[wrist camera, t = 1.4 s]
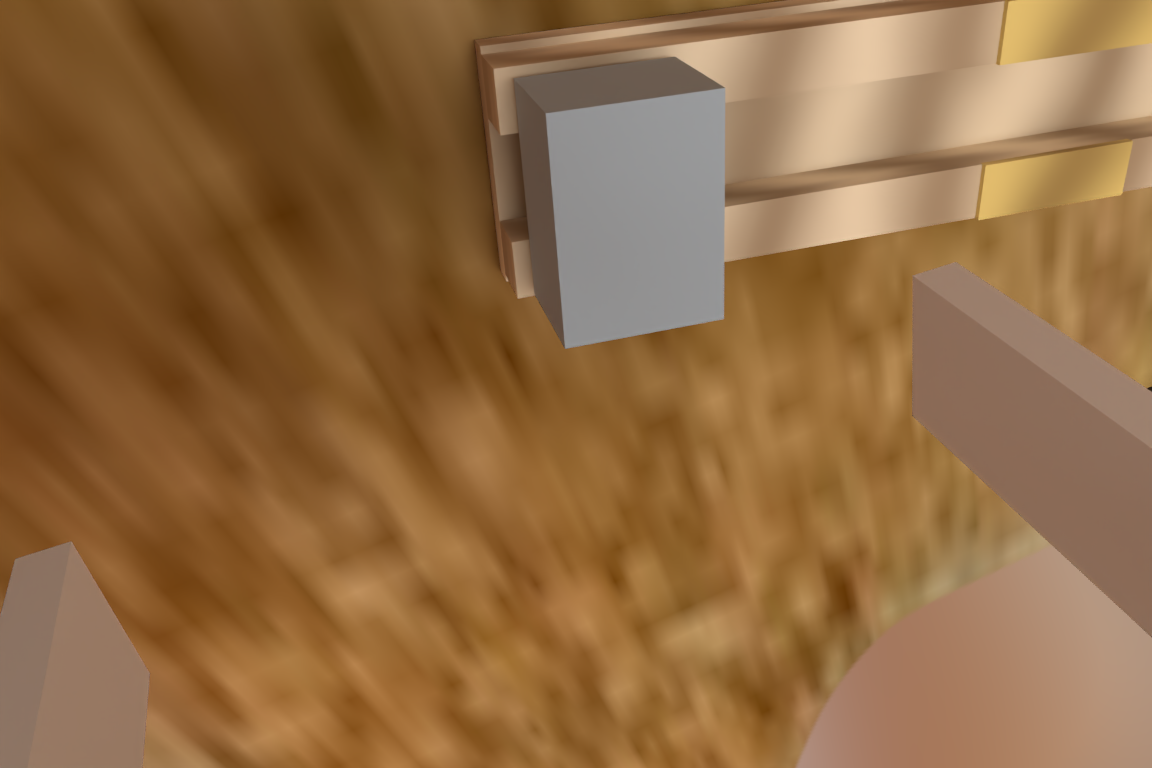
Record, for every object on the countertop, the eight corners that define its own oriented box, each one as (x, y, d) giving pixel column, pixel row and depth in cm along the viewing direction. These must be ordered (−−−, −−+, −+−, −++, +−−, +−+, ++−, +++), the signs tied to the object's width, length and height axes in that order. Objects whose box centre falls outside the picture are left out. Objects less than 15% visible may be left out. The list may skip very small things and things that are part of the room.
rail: (500, 270, 37) (525, 317, 34) (474, 39, 33) (499, 67, 29) (1212, 148, 43) (1294, 179, 39) (1265, -61, 39) (1361, -47, 35)
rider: (521, 270, 36) (565, 349, 31) (500, 63, 32) (545, 113, 27) (659, 246, 37) (723, 319, 31) (653, 43, 33) (725, 87, 28)
